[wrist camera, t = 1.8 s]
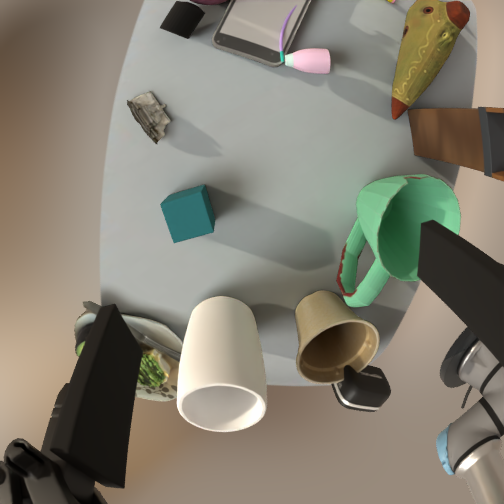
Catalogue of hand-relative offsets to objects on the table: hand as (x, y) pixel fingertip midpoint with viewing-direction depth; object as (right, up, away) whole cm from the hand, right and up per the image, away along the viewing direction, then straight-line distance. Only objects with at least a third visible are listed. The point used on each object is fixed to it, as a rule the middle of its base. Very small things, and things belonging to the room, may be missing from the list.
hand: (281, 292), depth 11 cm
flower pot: (+7, -6, +25) cm, 27 cm away
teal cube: (-7, +6, +19) cm, 21 cm away
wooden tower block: (+20, +16, +17) cm, 30 cm away
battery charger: (+12, -12, +28) cm, 32 cm away
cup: (-5, -6, +24) cm, 26 cm away
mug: (+12, +5, +21) cm, 24 cm away
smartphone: (+1, +27, +10) cm, 29 cm away
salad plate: (-19, -13, +26) cm, 34 cm away
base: (+21, +11, +6) cm, 24 cm away
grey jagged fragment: (-12, +14, +14) cm, 23 cm away
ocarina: (+17, +25, +13) cm, 33 cm away
